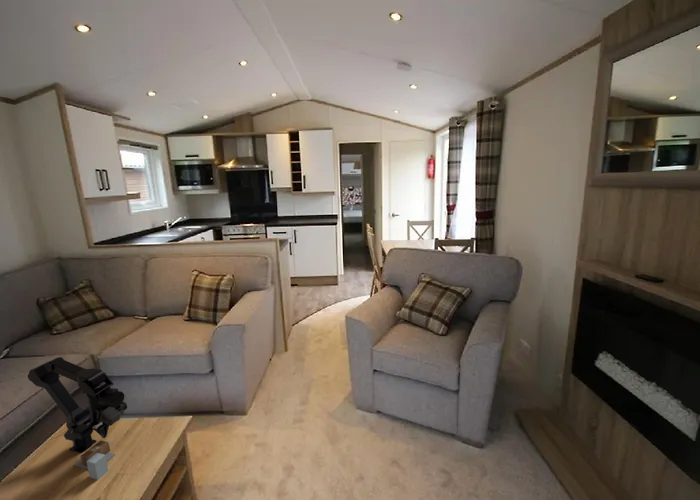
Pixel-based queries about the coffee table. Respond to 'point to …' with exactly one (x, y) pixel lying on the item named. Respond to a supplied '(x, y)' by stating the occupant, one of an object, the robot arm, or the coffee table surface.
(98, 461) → the bluegrey block
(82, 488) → the coffee table surface
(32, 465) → the coffee table surface
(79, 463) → the felt mat
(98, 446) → the walnut block
